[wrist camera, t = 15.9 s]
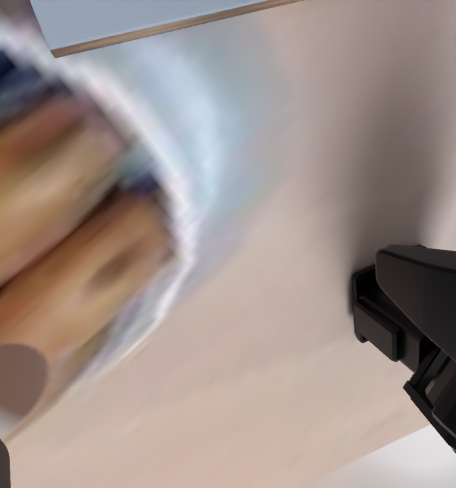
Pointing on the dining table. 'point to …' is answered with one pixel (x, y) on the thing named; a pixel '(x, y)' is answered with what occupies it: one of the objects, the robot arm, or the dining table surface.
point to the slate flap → (116, 16)
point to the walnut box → (167, 27)
